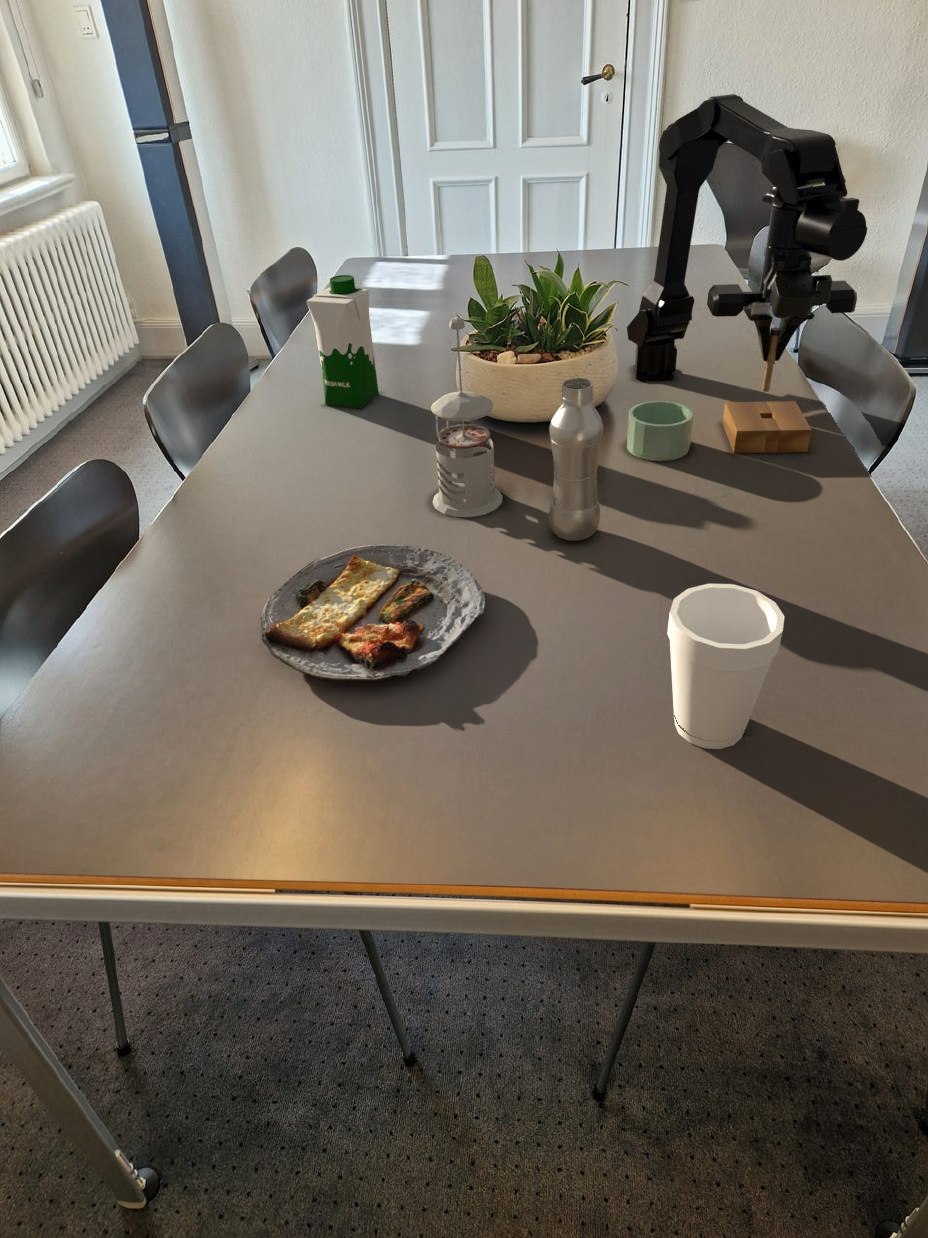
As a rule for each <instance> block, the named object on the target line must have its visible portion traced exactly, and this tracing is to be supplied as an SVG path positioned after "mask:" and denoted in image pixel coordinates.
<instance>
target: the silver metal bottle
mask: <svg viewBox="0 0 928 1238" xmlns="http://www.w3.org/2000/svg"><path fill="white" fill-rule="evenodd" d="M594 397H595V395H594V382H593V381H592V380H591V379H589V378H585V377H572V378H568V379H565V380H564V381H563V382H562V383H561V393H560V401H561V402H562V404H561V405H560V407H559V408H558V409H557V410H556V412H555V413H554V415H553V416H552V418H551V420H550V424H549V439H550V444H551V451H552V464H553V487H552V497H551V502H550V506H549V512H548V520H549V524H550V525H549V527H550V529H551V531H552V532H553V534H554V535H555V536H557V537H558V538H560V539H562V540H565V541H571V542H572V541H573V542H574V541H575V542H576V541H583V540H586V539H588V538H591V536H593V535H594V533H595V532H596V531H597V530H598V528H599V525H600V520H601V509H600V502H599V498H598V483H597V482H598V480H597V477H598V476H597V475H598V466H599V465H598V464H599V456H600V451H601V444H602V439H603V433H604V423H603V420H602V417H601V415H600V414H599V411H598V410H597V409H596V407H595V406H594V404H592V402H593V401H594V400H595V399H594Z"/></svg>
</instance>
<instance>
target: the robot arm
mask: <svg viewBox="0 0 928 1238" xmlns="http://www.w3.org/2000/svg"><path fill="white" fill-rule="evenodd" d="M728 142H730V143H731V144H733V145H735V146H736V147H738V148H739V149H741V150H742V151H743V152H745V153H746V154H748V155H750V156H751V157H753V158H754V159H756V160H757V161H758V162H759V163H760V165H761V174H762V175H763V176H764V178H765V179H767V181H768V182H769V183H770V184H771V185H772V186H773V187H772V189H770V190H769V191H768V192H767V193H765V194H764V195H763V196H762V199H761V200H762V202H763V203H767V204H770V205H772V206H771V212H770V219H769V225H768V233H767V240H766V246H765V247H764V251H763V256H764V259H763V265H762V271H761V278H759V285H758V286H759V290H758V291H757V290H756V291H754V290H753V291H743V289H742V288H741V286H740V284H738V283H734V284H733V283H732V284H713V285H712V286H711V287H710V288H709V289H708V293H707V300H706V306H707V308H708V310H709V312H710V314H711V316H712V317H717V318H718V317H719V318H720V317H724V318H725V317H737V316H738V315H740V314H741V313H742V312H744V314H745V315H746V317H747V318H748V320H749V321H751V322H753V323H754V325H755V329H756V332H757V337H758V338H757V339H758V342H759V348H760V352H761V358H762V361H763V362H766V361H767V358H768V353H769V340H770V330H771V325H772V322H773V320H774V318H773V317H775V318H778V319H780V321H779V326H778V328H780V335H779V341H778V347H777V353H776V359H775V362H778V361H780V359H781V358H782V356H783V354H784V352H785V350H786V348H787V346H788V344H789V342H791V339H792V337H793V336H794V334H795V332H796V331H797V330H798V328H799V327H800V326H801V325H802V324H803V323H805V322H806V321H811V320H813V319H814V318H815V313H814V312H813V309H814V307H818V306H819V307H821V306H823V305H825V307H826V309H827V310H828V311H829V312H830V313H831V314H851V313H854V312H855V311H856V305H857V302H858V292H857V291H856V290H855V289H854V288H853V287H852V286H851V285H850V284H849V283H848V282H847V281H846V280H833V278H832V275H831V274H819V275H813V274H812V259H813V256H812V255H811V253H812V254H816V255H818V256H822V257H825V258H828V259H832V260H834V261H838V262H839V261H840V262H842V261H847V260H849V259H851V258H852V257H854V255H855V254H857V252H858V251H859V250H860V249H861V248H862V246H863V244H864V242H865V240H866V236H867V234H868V227H867V220H866V217H865V215H864V213H863V212H861V211H860V210H859V205H860V199H859V198H855V197H847V195H848V189H847V185H846V182H847V180H846V179H845V176H844V174H843V170H842V165H841V162H840V158H839V155H838V150H837V147H836V145H837V143H836V140H835V139H834V138H833V136H831V134H829V133H826V132H821V131H817V130H813V129H804V128H803V129H801V128H793V127H788V126H786V125H785V124H784V123H781V122H780V121H778V120H776V119H775V118H773V117H771V116H769V115H768V114H766V113H765V112H762V111H761V110H760V109H758V108H756V107H754V106H752V105H751V104H749V103H748V102H746V101H744V98H743V97H742V96H741V95H737V94H734V93H732V94H731V93H729V94H722V95H713V96H710V97H708V98H706V99H705V100H703V102H701V103H700V104H699V106H697V107H696V108H694V109H693V110H692V111H690V112H688V113H687V114H684V115H683V116H681V117H679V118H678V119H676V120H675V121H674V122H672V123H670V124H668V125H667V127H666V128H665V129H664V130H663V131H662V133H661V135H660V139H659V142H658V143H659V144H658V153H659V155H658V156H659V157H658V168H659V171H660V173H661V175H662V178H663V180H664V183H665V185H666V190H665V198H664V205H663V211H662V219H661V226H660V234H659V241H658V246H657V247H658V249H657V255H656V262H655V271H654V276H653V277H654V278H653V279H652V282H651V283H650V285H649V286H648V288H646V290H645V292H644V293H643V295H642V296H641V301H640V305H639V309H638V313H637V314H636V315H635V316H634V317H633V319H632V320H631V321H630V323H629V324H628V325H627V326H626V332H627V340H629V341H630V342H631V343H634V344H635V345H636V346H635V360H634V364H633V373H634V377H635V378H634V379H635V380H636V381H651V380H652V381H653V380H654V381H655V380H656V381H657V380H674V373H676V369H677V359H678V358H677V357H678V347H677V345H676V344H675V343H676V340H683V339H685V335H686V333H687V329H688V326H689V324H690V321H692V320H693V308H694V305H695V298H694V296H692V295H690V293H689V290H688V288H687V286H686V284H685V283H686V276H687V271H688V270H687V269H688V262H689V259H690V258H689V257H690V252H691V245H692V239H693V232H694V228H695V227H694V226H695V220H696V213H697V207H698V200H699V196H700V190H701V187H702V186H703V185H704V183H705V182H706V181H707V179H708V177H709V176H710V175H711V173H712V171H713V170H714V168H715V165H716V160H717V157H718V154H719V150H720V149H722V148H723V147H724V146H725V145H726V144H727V143H728ZM770 308H771V310H770ZM770 311H771V313H770Z"/></svg>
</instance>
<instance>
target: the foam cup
mask: <svg viewBox="0 0 928 1238" xmlns="http://www.w3.org/2000/svg"><path fill="white" fill-rule="evenodd" d="M784 624H785V615H784V613H783V611H782V610H781V609H780V607H779V606H778V604H777V602H775V601H774V600H772V599H771V598H769V597H767V596H766V595H764V594H763V593H762V592H760V591H758V590H755V589H751V588H748V587H744V586H741V585H737V584H733V583H705V584H701V585H697V586H694V587H693V586H692V587H689V588H687V589H685V590H684V591H682V592H681V593H679V595H677V596H676V597H674V598H673V600H672V603H671V607H670V610H669V615H668V623H667V637H668V639H669V647H670V648H669V650H670V651H669V652H670V667H671V669H670V670H671V684H672V686H671V687H672V703H673V719H674V726H675V728H676V731H677V733H678V735H680V736H681V737H682V738H683V739H684V740H685V741H687V742H688V743H689V744H692V745H694V746H696V747H699V748H702V749H709V750H722V749H727V748H729V747H732V746H735V745H736V743H738V742H739V741H740V740H741V739H742V738H743V735H744V733H745V732H746V729H747V727H748V725H749V722H750V720H751V716H752V713H753V711H754V709H755V707H756V704H757V701H758V699H759V696H760V694H761V691H762V689H763V686H764V683H765V681H766V678H767V676H768V673H769V670H770V669H771V665H772V663H773V660H774V658H775V657H776V656H777V655H778V654H779V650H780V645H781V641H782V636H783V631H784ZM674 715H675V717H676V719H675V717H674ZM676 720H677V722H678V724H677V722H676ZM678 725H680V726H681V727H682V728H684V730H686V731H687V732H688V733H689V734H690V735H693V736H696V737H700V738H702V739H705V740H714V741H715V740H718V741H723V740H727V739H731V738H735V737H737V738H736V739H733V740H729V741H726V742H722V743H720V742H705V741H702V740H699V739H697V738H694V737H691V736H689V735H688V734H687V733H686V732H684V731H683V730H682V729H681V728H680V727H679V726H678ZM744 730H745V731H744ZM743 731H744V732H743ZM742 732H743V733H742ZM741 733H742V734H741Z"/></svg>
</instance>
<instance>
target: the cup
mask: <svg viewBox="0 0 928 1238" xmlns="http://www.w3.org/2000/svg"><path fill="white" fill-rule="evenodd" d="M627 416H628V418H627V430H626V431H627V433H626V449H627V451H628V453H630V454H631V455H633V456H634V457H636V458H639V459H642V460H646V461H651V462H667V461H675V460H677V459H680V458H683V457H684V456H686V455H687V454H688V453H689V451H690V447H691V444H692V443H691V441H692V433H693V424H694V417H695V416H694V412H693V410H692V409H691V408H690V407H688V406H687V405H685V404H682V403H679V402H676V401H669V400H649V401H644V402H640V403H637V404H635V405H633V406H632V407H631V408H630V409H629V410H628V415H627Z"/></svg>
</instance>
